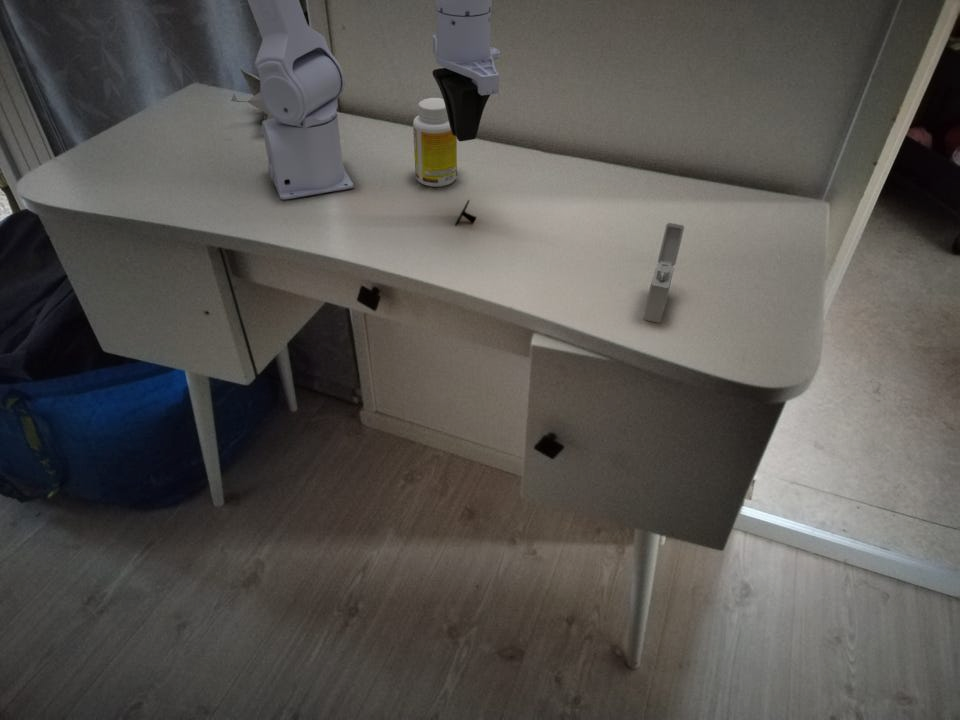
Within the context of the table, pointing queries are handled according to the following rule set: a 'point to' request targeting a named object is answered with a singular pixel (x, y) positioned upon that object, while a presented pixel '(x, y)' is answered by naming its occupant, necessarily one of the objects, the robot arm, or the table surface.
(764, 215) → the table surface
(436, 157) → the supplement bottle
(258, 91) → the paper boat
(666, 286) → the lighter
